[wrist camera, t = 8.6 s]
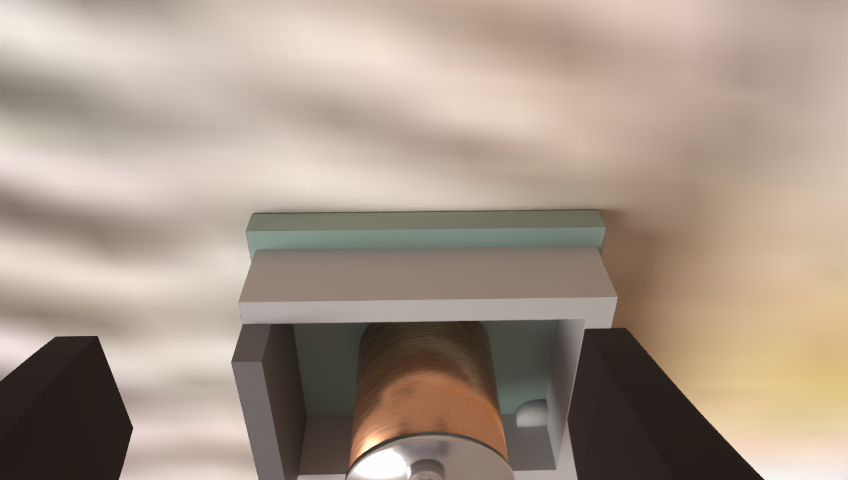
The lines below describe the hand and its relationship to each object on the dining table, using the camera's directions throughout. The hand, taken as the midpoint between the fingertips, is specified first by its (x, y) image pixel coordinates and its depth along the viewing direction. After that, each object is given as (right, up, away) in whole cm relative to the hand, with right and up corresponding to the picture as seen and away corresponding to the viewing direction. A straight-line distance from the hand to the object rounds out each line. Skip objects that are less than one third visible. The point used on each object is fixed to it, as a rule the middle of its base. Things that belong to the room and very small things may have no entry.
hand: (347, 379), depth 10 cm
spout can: (+1, -2, +13) cm, 13 cm away
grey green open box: (+1, -1, +13) cm, 14 cm away
